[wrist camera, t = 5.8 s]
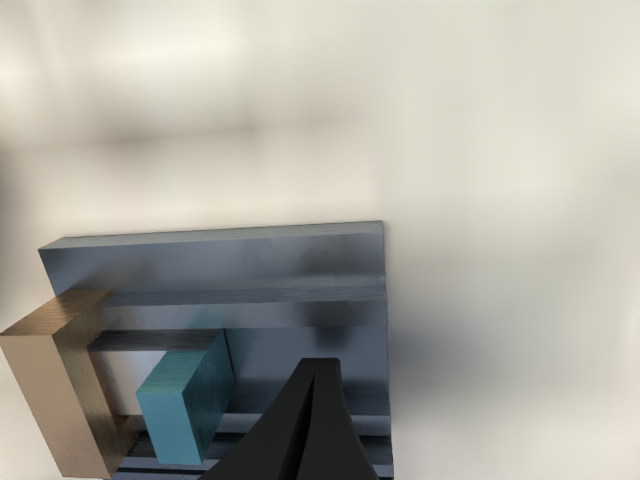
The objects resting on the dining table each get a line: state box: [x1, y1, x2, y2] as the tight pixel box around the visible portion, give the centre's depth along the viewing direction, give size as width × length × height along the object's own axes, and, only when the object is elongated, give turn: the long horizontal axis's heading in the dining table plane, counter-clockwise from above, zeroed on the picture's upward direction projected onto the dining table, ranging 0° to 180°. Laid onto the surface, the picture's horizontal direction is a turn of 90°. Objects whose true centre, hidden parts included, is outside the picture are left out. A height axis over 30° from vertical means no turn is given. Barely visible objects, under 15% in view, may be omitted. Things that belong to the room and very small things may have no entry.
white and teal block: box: [86, 328, 235, 465], centre depth 14 cm, size 3×8×4 cm, turn 95°
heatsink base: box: [0, 221, 394, 480], centre depth 14 cm, size 10×13×4 cm
